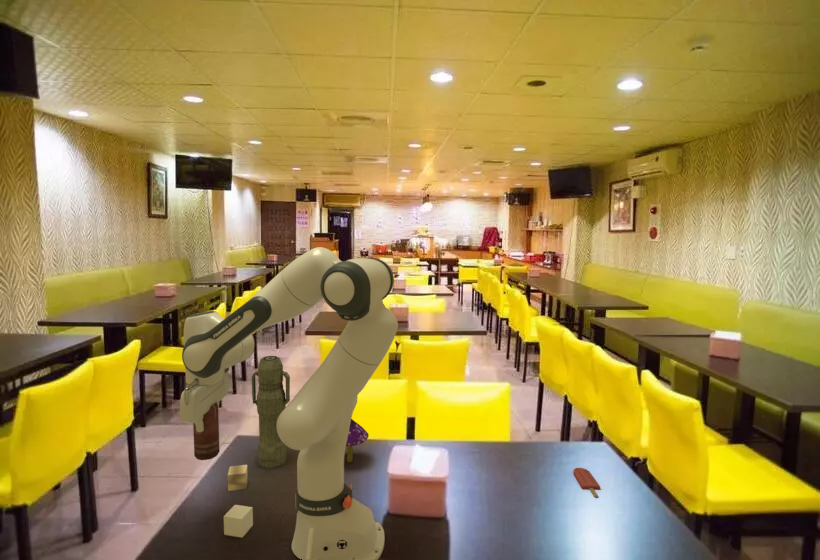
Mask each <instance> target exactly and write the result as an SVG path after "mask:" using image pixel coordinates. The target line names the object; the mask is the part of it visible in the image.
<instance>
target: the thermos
mask: <svg viewBox="0 0 820 560" xmlns="http://www.w3.org/2000/svg"><path fill="white" fill-rule="evenodd" d="M256 376H257V380H258V388H257V387H256ZM284 378H285V389H284V384H283V381H284ZM290 382H291V376H290V374H289V373H288V372H287V371H284V365H283V363H282V361H281V358H280V357H279V356H276V355H268V356H267V355H266V356H263V357H262V358H260V360H259V363H258V366H257V370H255V372H253V374H252V376H251V394H252V395H251V396H252V397H251V398H252V404H254V405H255V406H256V411H257V414H258V432H259V433H258V436H259V437H258V438H259V443H258V447H257V457H258V466H259V467H260V466H261V467H260V468H263V469H267V470H271V469H277V468H281V467H282V466H284V465H285V464H286V463H287V453H288V452H287V451H288V450H287V446H286V445H285V444H284V443H283V442H282V441H281V439H280V437H279V435H278V432H277V419H278V417H279V415H280V414H281V412H282V411H283V410H284V409H285V408H286V407H287V406H286V405H288V404H289V403H290V402H291V401H290V400H291V398H290V397H291V395H290V391H291V390H290V389H291V385H290V384H291V383H290ZM256 389H258V391H256Z"/></svg>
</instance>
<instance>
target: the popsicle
mask: <svg viewBox="0 0 820 560" xmlns="http://www.w3.org/2000/svg"><path fill="white" fill-rule="evenodd" d="M572 473H573V477H574V478H575V480H576V482H577V483H578V485H579V487H580V488H581V490H584V491H587V490H589V491H590V492H591V494H592V495H593V496H594V497H595V498H598V497H599V495H598V493H597V491H600V490H601V486H600V484H599V483H598V481H597V480H596V479H595V477H594V476H593V475H592V472H590V470H588V469H587V468H583V467H575V468H573V472H572Z"/></svg>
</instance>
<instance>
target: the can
mask: <svg viewBox="0 0 820 560" xmlns="http://www.w3.org/2000/svg"><path fill="white" fill-rule="evenodd" d="M219 419H220V418H219V408H218V404H217V402H216V404H214V405H211V407H210V409H209V411H208V412H207V413H205V414H204V415H203V419H202V420H203V423H205V429H204V430H203V431H202V432H197V431H196V425H195V424H194V423H192V428H193V431H192V432H193V455H194V457H195V459H196V460H198V461H207V460H211V459H214V458H216V457H218V455H219V453H220V424H219V423H220V421H219Z"/></svg>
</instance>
